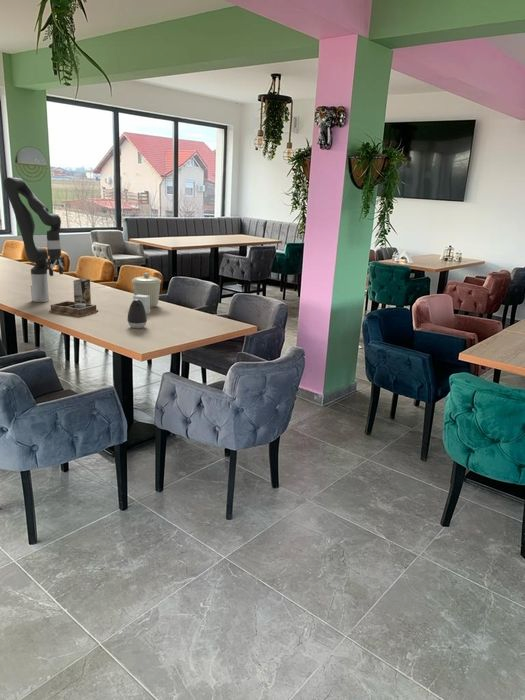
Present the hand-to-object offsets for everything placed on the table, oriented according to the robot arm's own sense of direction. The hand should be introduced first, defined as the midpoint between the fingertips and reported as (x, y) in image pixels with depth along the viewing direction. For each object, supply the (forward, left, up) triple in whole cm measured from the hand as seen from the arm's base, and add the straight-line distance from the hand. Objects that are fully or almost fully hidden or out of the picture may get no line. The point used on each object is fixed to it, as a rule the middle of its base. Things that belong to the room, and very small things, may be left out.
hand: (56, 275), depth 325 cm
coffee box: (+16, +3, -18) cm, 24 cm away
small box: (+56, +7, -18) cm, 60 cm away
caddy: (+22, -12, -18) cm, 31 cm away
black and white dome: (+73, -22, -18) cm, 79 cm away
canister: (+48, +24, -18) cm, 57 cm away
